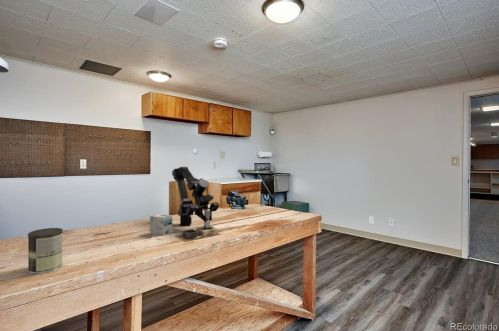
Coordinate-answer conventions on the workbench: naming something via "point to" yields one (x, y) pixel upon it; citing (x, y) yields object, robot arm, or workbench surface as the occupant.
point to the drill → (207, 219)
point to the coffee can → (44, 250)
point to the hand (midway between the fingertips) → (208, 220)
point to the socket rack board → (198, 234)
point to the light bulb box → (160, 224)
